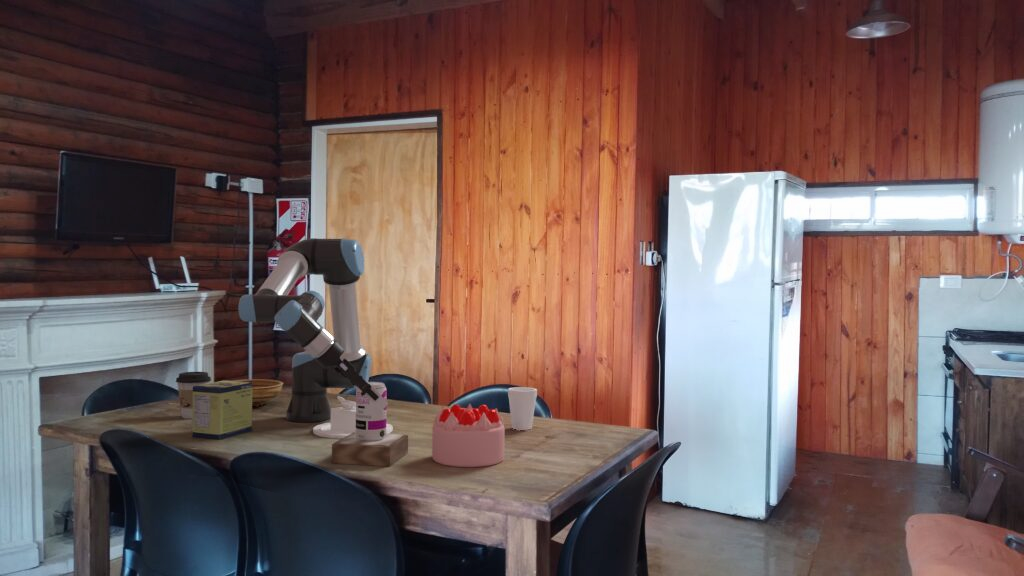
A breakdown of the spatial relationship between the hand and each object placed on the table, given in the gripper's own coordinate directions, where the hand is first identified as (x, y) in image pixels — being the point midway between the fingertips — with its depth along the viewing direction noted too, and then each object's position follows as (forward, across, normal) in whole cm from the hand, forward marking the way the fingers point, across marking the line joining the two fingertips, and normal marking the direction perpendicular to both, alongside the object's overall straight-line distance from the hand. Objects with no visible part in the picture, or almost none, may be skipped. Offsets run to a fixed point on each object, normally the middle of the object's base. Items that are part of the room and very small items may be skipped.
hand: (380, 403), depth 215 cm
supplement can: (+5, 0, -9) cm, 10 cm away
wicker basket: (-10, -98, -32) cm, 104 cm away
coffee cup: (-24, -77, -45) cm, 92 cm away
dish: (+10, -38, -12) cm, 41 cm away
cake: (+27, +9, +5) cm, 29 cm away
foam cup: (+48, -26, +26) cm, 60 cm away
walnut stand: (+9, 0, -12) cm, 15 cm away
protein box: (-18, -45, -39) cm, 62 cm away
